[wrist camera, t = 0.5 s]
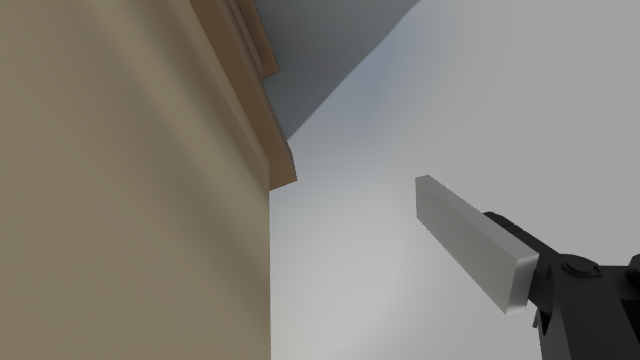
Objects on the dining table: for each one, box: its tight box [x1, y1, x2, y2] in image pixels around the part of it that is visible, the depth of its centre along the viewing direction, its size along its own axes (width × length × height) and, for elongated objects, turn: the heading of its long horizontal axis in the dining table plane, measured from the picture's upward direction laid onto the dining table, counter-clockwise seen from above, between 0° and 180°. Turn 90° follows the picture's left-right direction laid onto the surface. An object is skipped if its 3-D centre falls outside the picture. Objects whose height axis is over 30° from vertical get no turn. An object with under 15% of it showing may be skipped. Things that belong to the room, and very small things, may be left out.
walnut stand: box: [189, 0, 297, 191], centre depth 17 cm, size 20×11×29 cm, turn 108°
